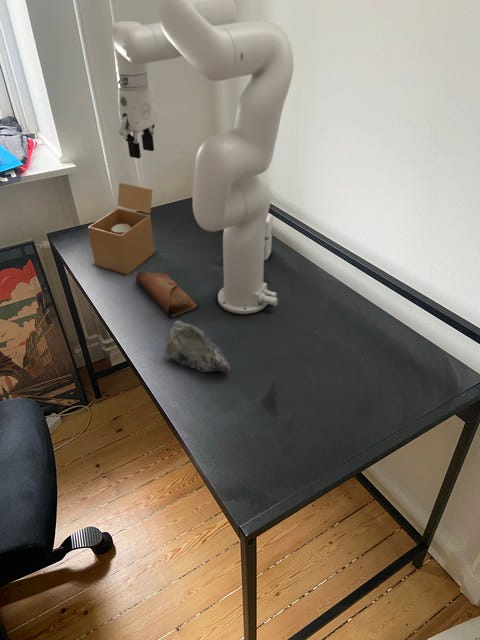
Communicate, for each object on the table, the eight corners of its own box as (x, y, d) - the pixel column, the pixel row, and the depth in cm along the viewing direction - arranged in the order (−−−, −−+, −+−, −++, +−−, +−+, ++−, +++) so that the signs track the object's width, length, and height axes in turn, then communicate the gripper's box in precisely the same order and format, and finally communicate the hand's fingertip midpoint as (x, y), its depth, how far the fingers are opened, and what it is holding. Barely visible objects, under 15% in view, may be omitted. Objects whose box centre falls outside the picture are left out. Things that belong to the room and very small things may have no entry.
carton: (123, 244, 150) (117, 207, 143) (154, 252, 146) (150, 215, 139) (95, 264, 141) (87, 227, 134) (127, 274, 137) (121, 236, 130)
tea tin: (138, 255, 144) (134, 226, 139) (127, 263, 141) (122, 234, 135) (123, 251, 146) (119, 222, 140) (112, 259, 142) (107, 230, 137)
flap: (117, 205, 142) (118, 205, 143) (149, 213, 139) (150, 213, 139) (119, 182, 140) (119, 182, 141) (152, 189, 137) (152, 189, 137)
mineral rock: (233, 377, 106) (232, 339, 100) (184, 393, 102) (180, 355, 96) (208, 340, 115) (206, 304, 109) (162, 355, 111) (157, 317, 105)
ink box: (237, 256, 144) (236, 217, 137) (242, 248, 148) (242, 209, 141) (267, 261, 142) (268, 221, 135) (271, 252, 146) (273, 214, 139)
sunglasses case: (200, 304, 125) (186, 289, 120) (179, 325, 124) (164, 311, 119) (164, 272, 137) (150, 257, 132) (145, 291, 136) (130, 276, 131)
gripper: (124, 89, 119) (134, 166, 130) (165, 74, 131) (171, 146, 142) (98, 86, 122) (110, 162, 133) (141, 71, 134) (148, 142, 145)
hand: (142, 153), depth 137 cm, fingers open, 5 cm apart
